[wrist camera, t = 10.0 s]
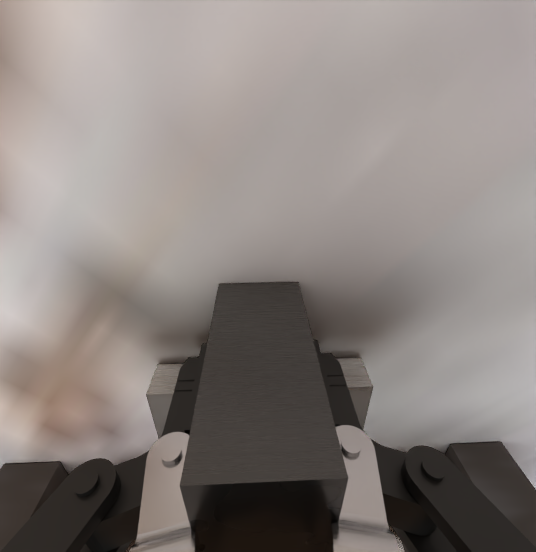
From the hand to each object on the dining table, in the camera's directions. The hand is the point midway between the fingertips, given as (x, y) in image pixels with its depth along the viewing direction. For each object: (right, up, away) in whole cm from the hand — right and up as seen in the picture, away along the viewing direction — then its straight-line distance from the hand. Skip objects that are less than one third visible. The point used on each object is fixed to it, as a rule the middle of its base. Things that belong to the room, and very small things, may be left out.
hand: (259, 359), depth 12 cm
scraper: (0, -9, +6) cm, 11 cm away
